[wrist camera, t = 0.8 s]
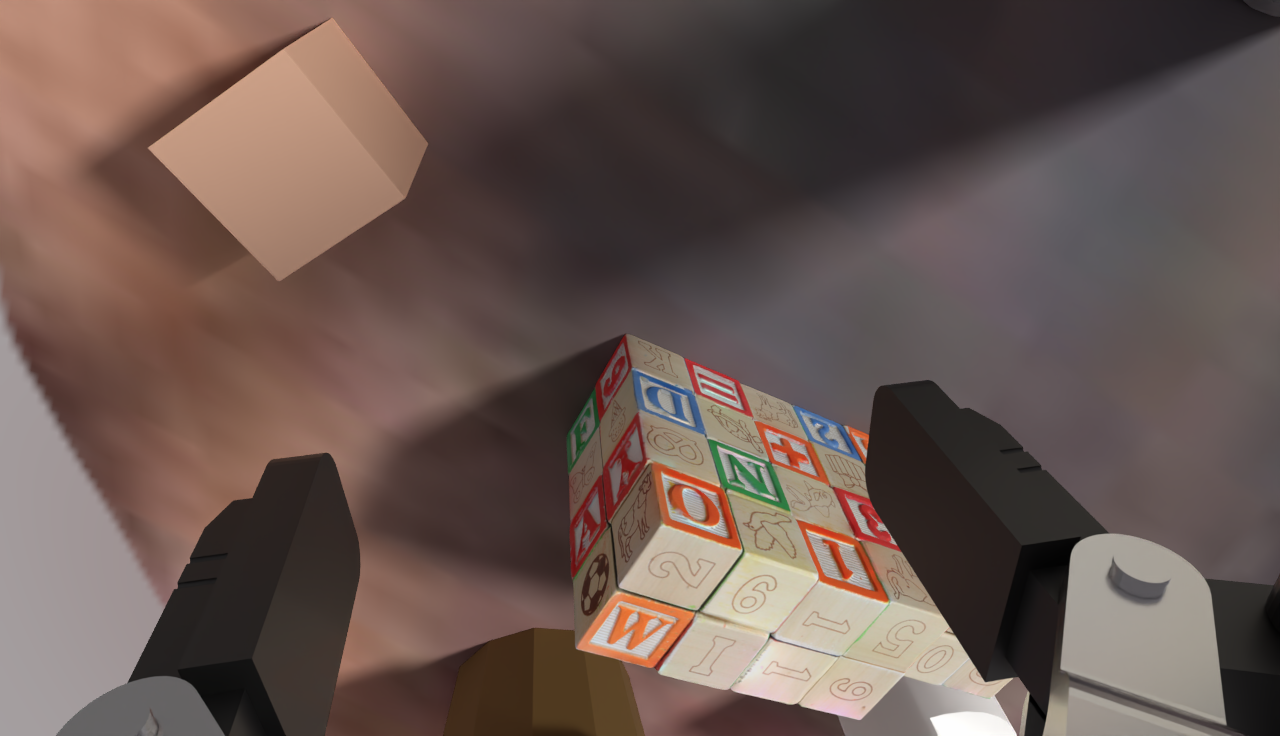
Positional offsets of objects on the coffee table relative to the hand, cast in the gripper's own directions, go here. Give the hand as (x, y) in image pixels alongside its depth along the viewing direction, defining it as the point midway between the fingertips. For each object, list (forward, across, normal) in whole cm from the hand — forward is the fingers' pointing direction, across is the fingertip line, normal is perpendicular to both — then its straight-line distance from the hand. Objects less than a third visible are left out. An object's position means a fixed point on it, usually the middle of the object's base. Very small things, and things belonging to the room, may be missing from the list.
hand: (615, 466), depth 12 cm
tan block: (+21, +8, -1) cm, 22 cm away
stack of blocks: (+21, -10, +16) cm, 28 cm away
